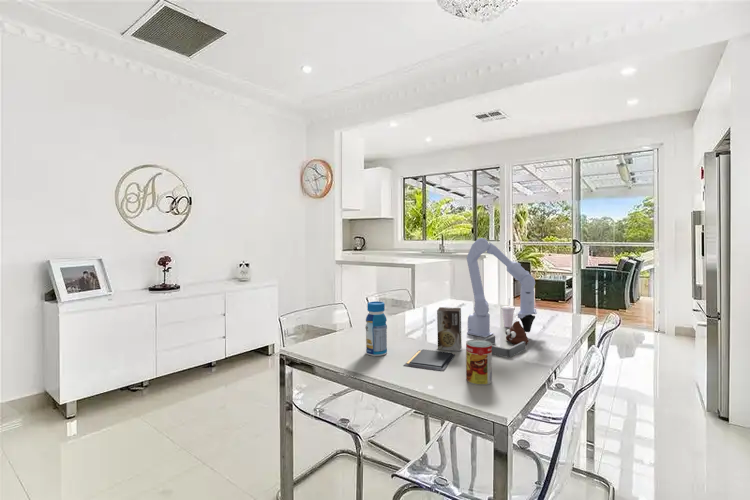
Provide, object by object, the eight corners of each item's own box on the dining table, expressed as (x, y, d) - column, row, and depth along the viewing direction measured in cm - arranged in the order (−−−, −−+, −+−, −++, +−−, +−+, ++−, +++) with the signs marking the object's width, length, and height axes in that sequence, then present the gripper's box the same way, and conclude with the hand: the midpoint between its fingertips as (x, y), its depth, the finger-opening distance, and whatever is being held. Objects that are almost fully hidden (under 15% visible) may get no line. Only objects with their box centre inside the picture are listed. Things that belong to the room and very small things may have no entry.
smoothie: (515, 328, 186) (515, 299, 185) (502, 327, 187) (502, 299, 186) (513, 325, 192) (513, 297, 191) (500, 324, 193) (500, 297, 192)
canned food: (466, 374, 127) (466, 338, 126) (491, 376, 124) (491, 340, 124) (465, 383, 119) (465, 345, 118) (491, 386, 117) (491, 347, 116)
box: (475, 349, 153) (475, 342, 153) (493, 342, 163) (493, 335, 162) (509, 357, 143) (509, 349, 143) (525, 349, 153) (525, 341, 152)
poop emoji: (533, 344, 159) (533, 322, 159) (515, 346, 157) (515, 324, 156) (517, 338, 169) (517, 317, 168) (500, 340, 166) (501, 318, 166)
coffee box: (461, 346, 157) (461, 307, 156) (460, 351, 151) (459, 310, 150) (439, 344, 160) (439, 306, 159) (437, 349, 154) (436, 309, 153)
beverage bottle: (383, 357, 145) (382, 305, 144) (362, 355, 148) (361, 304, 147) (390, 351, 153) (389, 301, 152) (370, 349, 155) (369, 300, 155)
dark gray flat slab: (443, 368, 129) (401, 362, 136) (443, 374, 129) (401, 367, 136) (457, 351, 147) (419, 346, 154) (457, 356, 147) (419, 351, 154)
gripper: (529, 304, 161) (529, 336, 162) (542, 300, 171) (542, 330, 172) (513, 302, 166) (513, 333, 167) (527, 298, 176) (527, 327, 177)
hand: (527, 331), depth 170 cm, fingers closed
